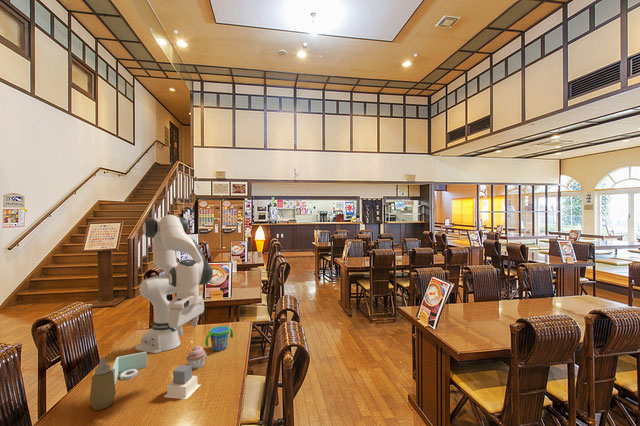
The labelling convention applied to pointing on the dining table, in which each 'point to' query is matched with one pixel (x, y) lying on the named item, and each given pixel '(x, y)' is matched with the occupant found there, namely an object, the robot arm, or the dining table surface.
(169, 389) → the cream base block
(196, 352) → the cupcake
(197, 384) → the light grey flat slab
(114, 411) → the dining table surface
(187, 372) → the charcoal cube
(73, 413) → the dining table surface
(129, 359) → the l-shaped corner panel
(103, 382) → the squeeze bottle
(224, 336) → the snack cup
